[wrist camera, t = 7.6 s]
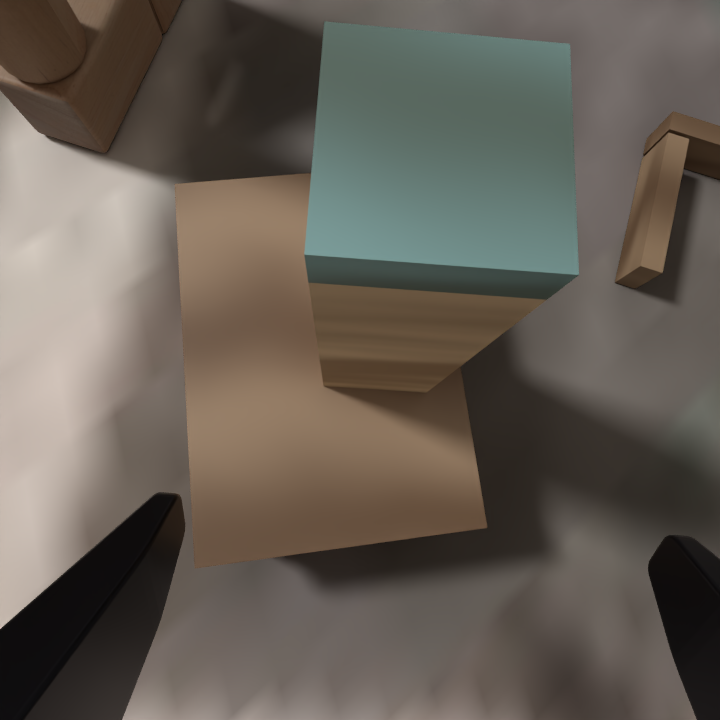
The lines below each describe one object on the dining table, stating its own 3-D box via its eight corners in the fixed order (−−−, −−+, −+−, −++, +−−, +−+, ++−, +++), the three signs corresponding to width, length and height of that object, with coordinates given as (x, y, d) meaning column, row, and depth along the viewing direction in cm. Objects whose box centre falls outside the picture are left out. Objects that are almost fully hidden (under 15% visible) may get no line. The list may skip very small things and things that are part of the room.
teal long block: (426, 392, 17) (578, 274, 6) (323, 386, 17) (304, 254, 6) (429, 295, 18) (570, 44, 7) (330, 288, 18) (324, 21, 7)
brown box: (474, 511, 21) (512, 524, 16) (225, 545, 20) (194, 568, 16) (426, 218, 24) (447, 161, 19) (205, 237, 23) (174, 183, 18)
